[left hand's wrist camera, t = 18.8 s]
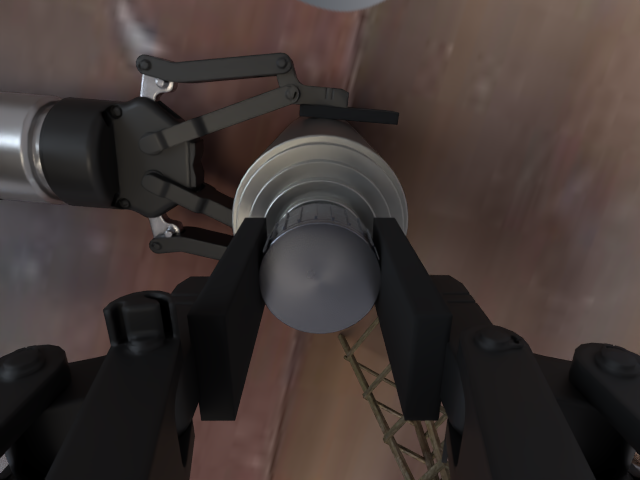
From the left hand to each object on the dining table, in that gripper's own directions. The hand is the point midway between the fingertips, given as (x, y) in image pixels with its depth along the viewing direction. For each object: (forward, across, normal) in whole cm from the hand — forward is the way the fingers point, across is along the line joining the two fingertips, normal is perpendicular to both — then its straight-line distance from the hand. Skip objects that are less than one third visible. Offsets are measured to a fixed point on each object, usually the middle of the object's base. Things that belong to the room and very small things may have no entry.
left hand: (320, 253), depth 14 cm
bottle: (+21, 0, 0) cm, 21 cm away
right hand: (+15, -5, 0) cm, 16 cm away
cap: (-2, 0, 0) cm, 2 cm away
